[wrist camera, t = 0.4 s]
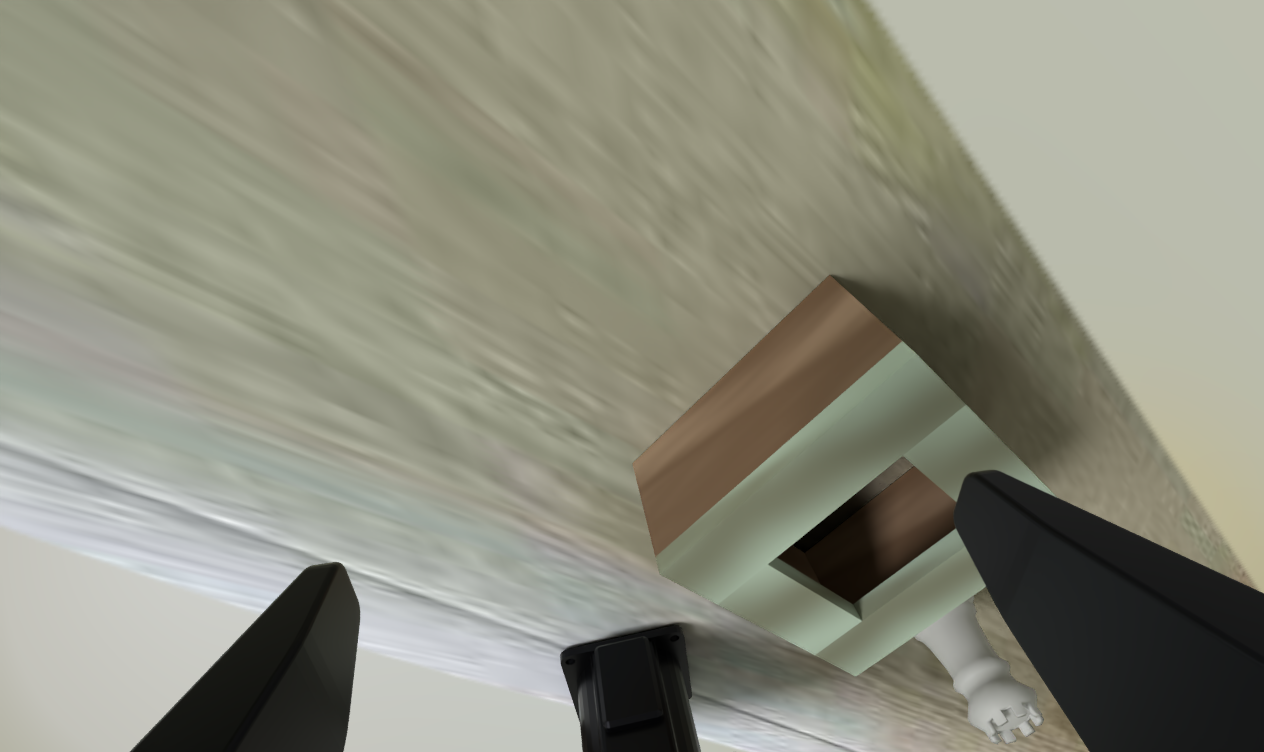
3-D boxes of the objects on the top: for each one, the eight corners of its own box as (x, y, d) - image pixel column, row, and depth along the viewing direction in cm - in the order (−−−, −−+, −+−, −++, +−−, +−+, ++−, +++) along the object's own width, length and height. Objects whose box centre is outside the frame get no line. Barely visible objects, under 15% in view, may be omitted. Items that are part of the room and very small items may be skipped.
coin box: (981, 427, 29) (1080, 521, 24) (802, 568, 32) (855, 676, 27) (829, 274, 23) (916, 354, 18) (632, 463, 26) (659, 574, 21)
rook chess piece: (968, 552, 34) (1082, 693, 27) (942, 606, 36) (1040, 749, 29) (892, 558, 33) (990, 705, 26) (870, 613, 35) (954, 761, 28)
